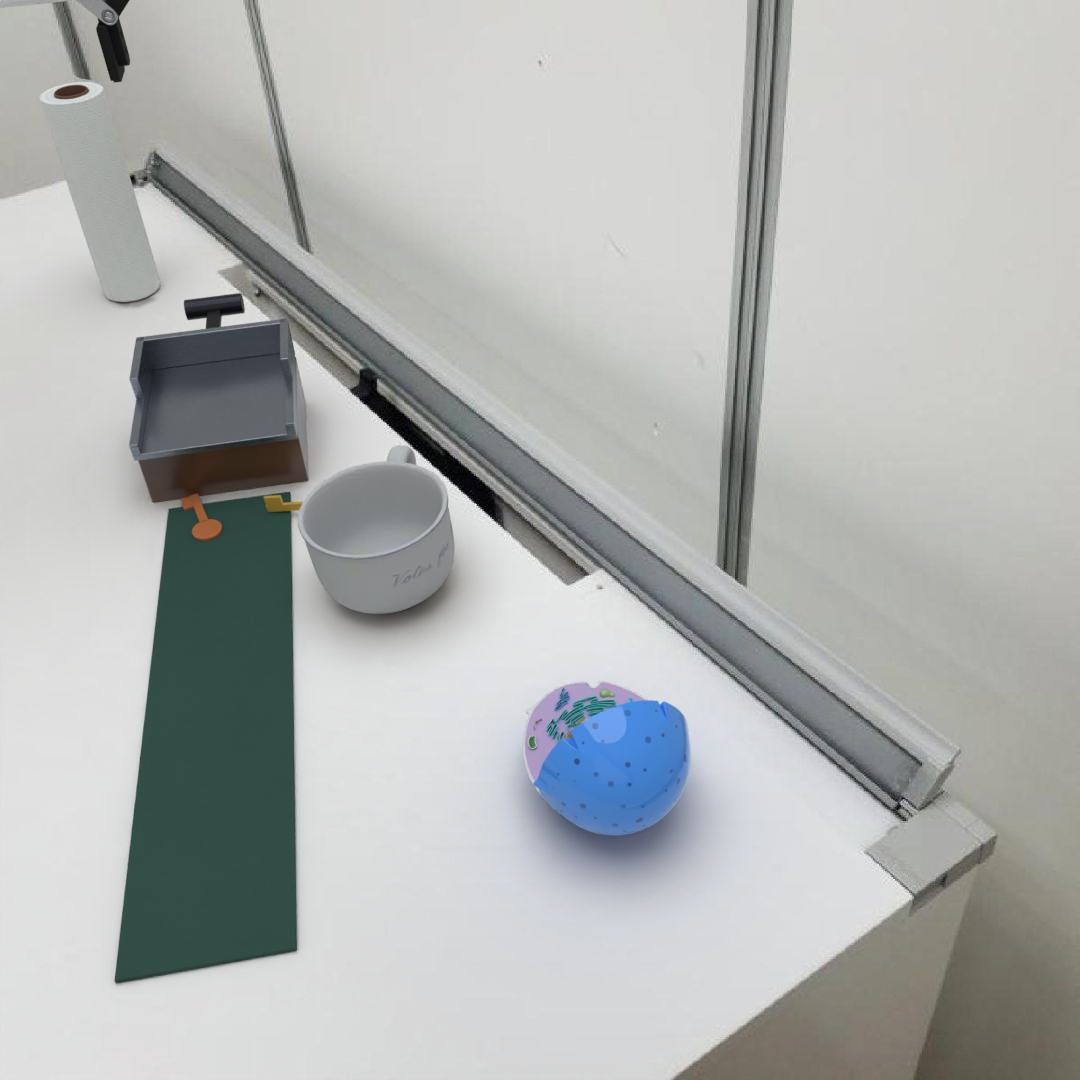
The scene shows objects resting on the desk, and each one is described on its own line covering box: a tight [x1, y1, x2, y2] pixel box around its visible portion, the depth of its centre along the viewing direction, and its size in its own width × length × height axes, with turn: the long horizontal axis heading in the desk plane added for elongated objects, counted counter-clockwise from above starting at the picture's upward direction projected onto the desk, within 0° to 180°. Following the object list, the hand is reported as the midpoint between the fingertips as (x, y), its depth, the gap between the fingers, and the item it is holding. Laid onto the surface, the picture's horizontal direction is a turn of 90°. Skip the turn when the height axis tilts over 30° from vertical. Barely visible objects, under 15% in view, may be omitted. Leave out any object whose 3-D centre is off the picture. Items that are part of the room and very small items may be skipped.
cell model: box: [521, 680, 692, 837], centre depth 69 cm, size 10×12×10 cm
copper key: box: [179, 493, 223, 541], centre depth 94 cm, size 6×2×1 cm, turn 25°
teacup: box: [297, 444, 455, 615], centre depth 86 cm, size 14×11×8 cm
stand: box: [137, 356, 309, 503], centre depth 100 cm, size 12×13×5 cm
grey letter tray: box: [128, 292, 297, 462], centre depth 98 cm, size 18×13×4 cm
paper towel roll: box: [38, 74, 161, 303], centre depth 118 cm, size 7×6×21 cm
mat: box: [114, 491, 298, 984], centre depth 80 cm, size 42×10×1 cm, turn 10°
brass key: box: [264, 495, 304, 512], centre depth 93 cm, size 6×2×1 cm
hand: (52, 83), depth 86 cm, fingers open, 9 cm apart
